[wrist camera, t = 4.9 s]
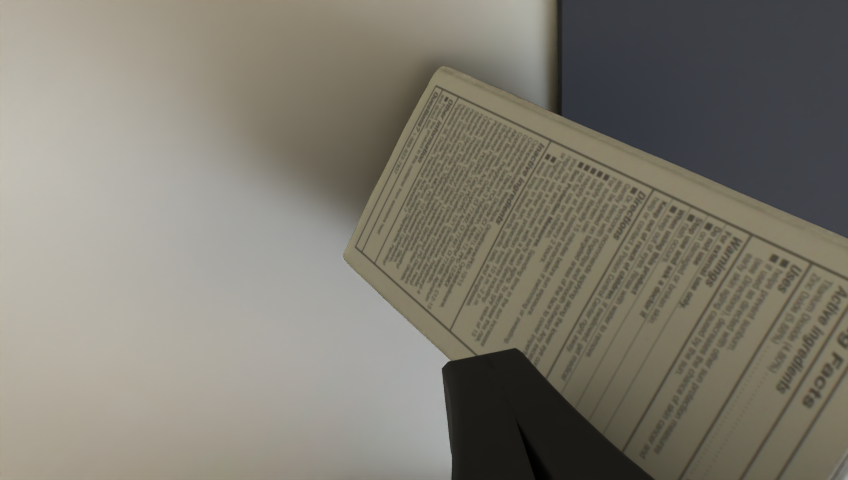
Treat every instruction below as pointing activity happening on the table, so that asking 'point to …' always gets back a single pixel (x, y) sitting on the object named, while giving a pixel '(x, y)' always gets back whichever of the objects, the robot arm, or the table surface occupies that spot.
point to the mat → (719, 92)
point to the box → (616, 285)
